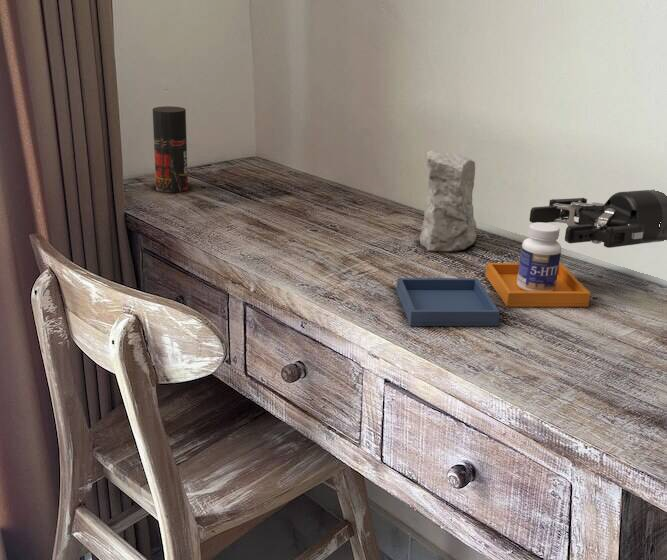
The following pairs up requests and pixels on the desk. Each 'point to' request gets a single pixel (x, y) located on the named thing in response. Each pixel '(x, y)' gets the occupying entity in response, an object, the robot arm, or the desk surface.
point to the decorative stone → (449, 203)
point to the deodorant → (170, 149)
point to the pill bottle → (539, 258)
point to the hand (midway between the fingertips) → (548, 225)
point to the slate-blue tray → (446, 302)
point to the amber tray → (512, 295)
